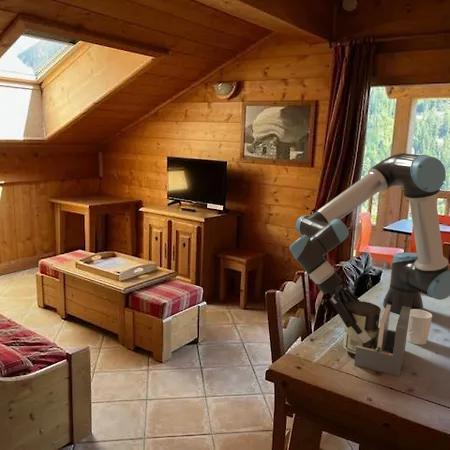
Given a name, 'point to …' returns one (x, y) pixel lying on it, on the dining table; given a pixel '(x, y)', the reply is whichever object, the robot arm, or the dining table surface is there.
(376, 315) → the coffee can
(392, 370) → the grey u-shaped holder
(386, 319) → the curved beige panel
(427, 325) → the white cup
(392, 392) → the dining table surface
